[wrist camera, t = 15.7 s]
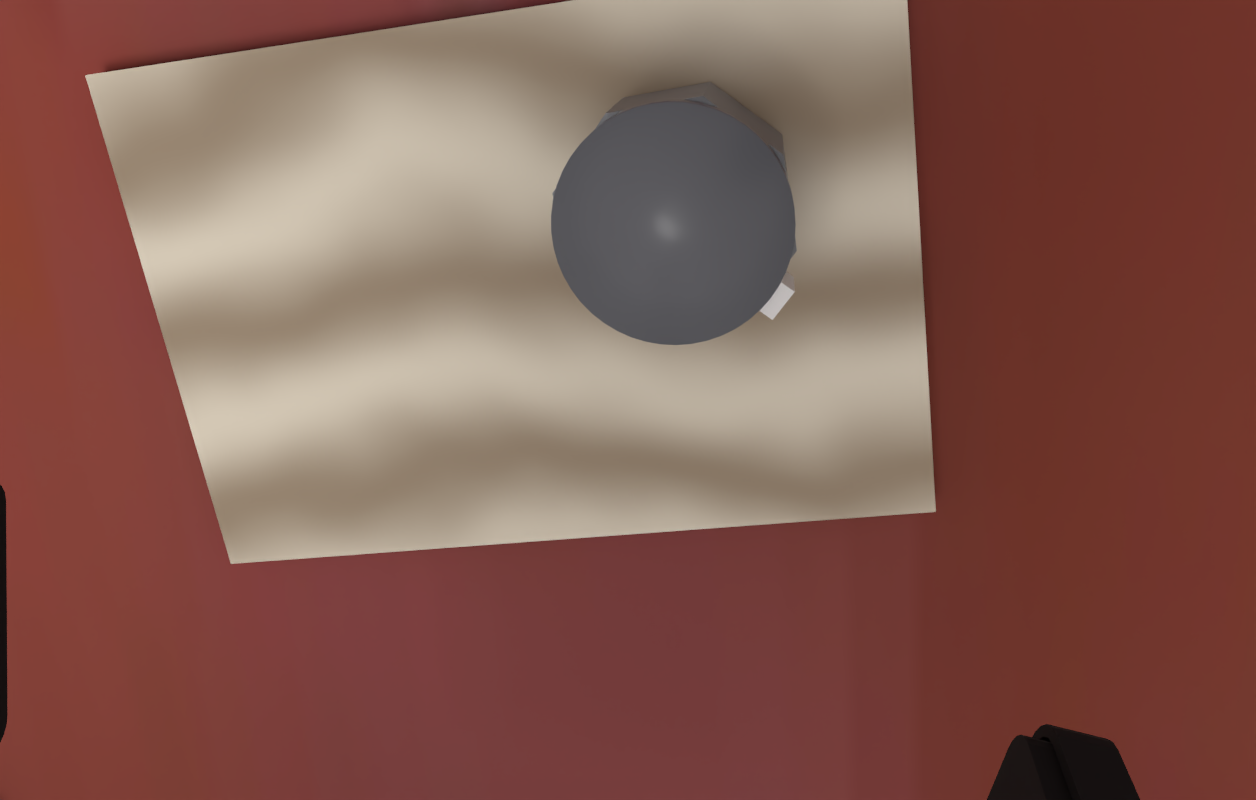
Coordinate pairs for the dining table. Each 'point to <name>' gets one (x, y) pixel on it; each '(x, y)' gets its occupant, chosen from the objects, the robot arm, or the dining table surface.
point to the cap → (677, 217)
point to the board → (519, 281)
